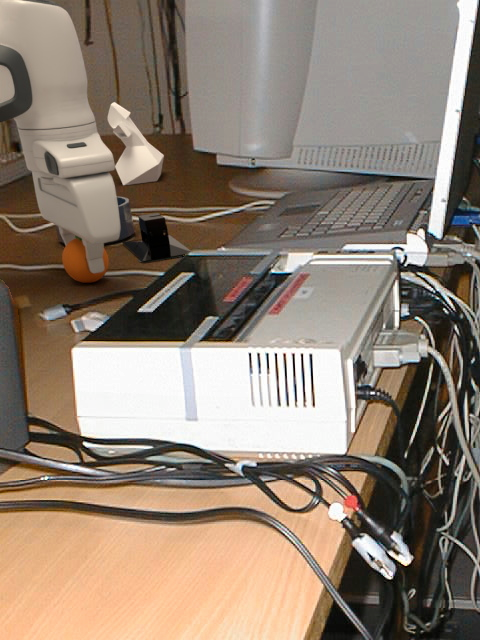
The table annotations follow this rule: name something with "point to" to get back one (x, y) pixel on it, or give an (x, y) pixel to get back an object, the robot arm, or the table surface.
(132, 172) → the white angular stand
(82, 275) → the toy tangerine
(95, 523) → the table surface
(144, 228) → the black winged block
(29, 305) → the table surface
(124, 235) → the bowl
